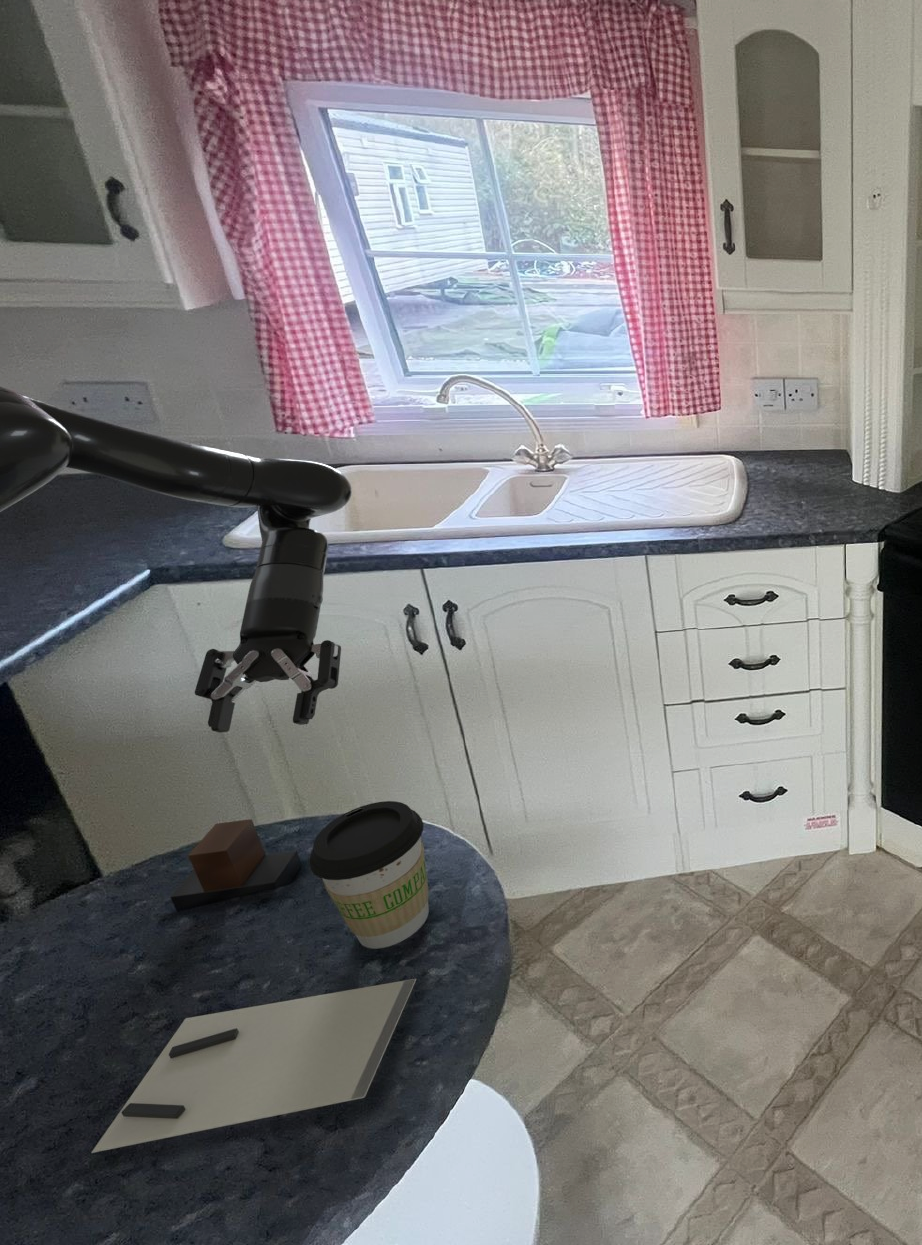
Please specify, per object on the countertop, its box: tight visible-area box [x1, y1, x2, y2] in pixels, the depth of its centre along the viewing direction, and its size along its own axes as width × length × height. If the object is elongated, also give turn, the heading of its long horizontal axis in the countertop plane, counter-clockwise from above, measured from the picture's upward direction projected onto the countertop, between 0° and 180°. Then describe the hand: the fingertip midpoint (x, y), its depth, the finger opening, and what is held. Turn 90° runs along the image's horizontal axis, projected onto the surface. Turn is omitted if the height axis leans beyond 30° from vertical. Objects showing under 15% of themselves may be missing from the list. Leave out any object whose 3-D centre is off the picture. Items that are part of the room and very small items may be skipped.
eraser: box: [170, 818, 303, 913], centre depth 90 cm, size 10×5×8 cm, turn 104°
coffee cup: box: [309, 800, 430, 950], centre depth 84 cm, size 10×10×15 cm
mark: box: [169, 1028, 239, 1058], centre depth 73 cm, size 5×1×1 cm, turn 114°
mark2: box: [121, 1103, 185, 1119], centre depth 67 cm, size 5×1×1 cm, turn 89°
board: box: [90, 978, 417, 1154], centre depth 73 cm, size 20×12×2 cm, turn 104°
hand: (260, 727), depth 96 cm, fingers open, 8 cm apart
